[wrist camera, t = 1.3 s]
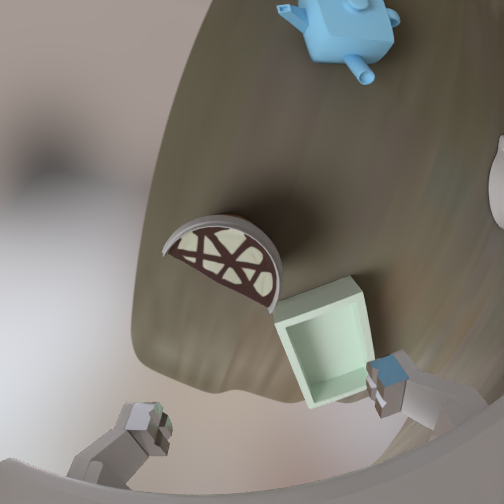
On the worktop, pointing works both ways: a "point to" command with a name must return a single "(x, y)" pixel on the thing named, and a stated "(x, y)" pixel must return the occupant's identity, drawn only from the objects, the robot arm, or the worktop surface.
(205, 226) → the food container
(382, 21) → the teapot
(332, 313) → the crate
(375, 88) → the worktop surface
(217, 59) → the worktop surface
